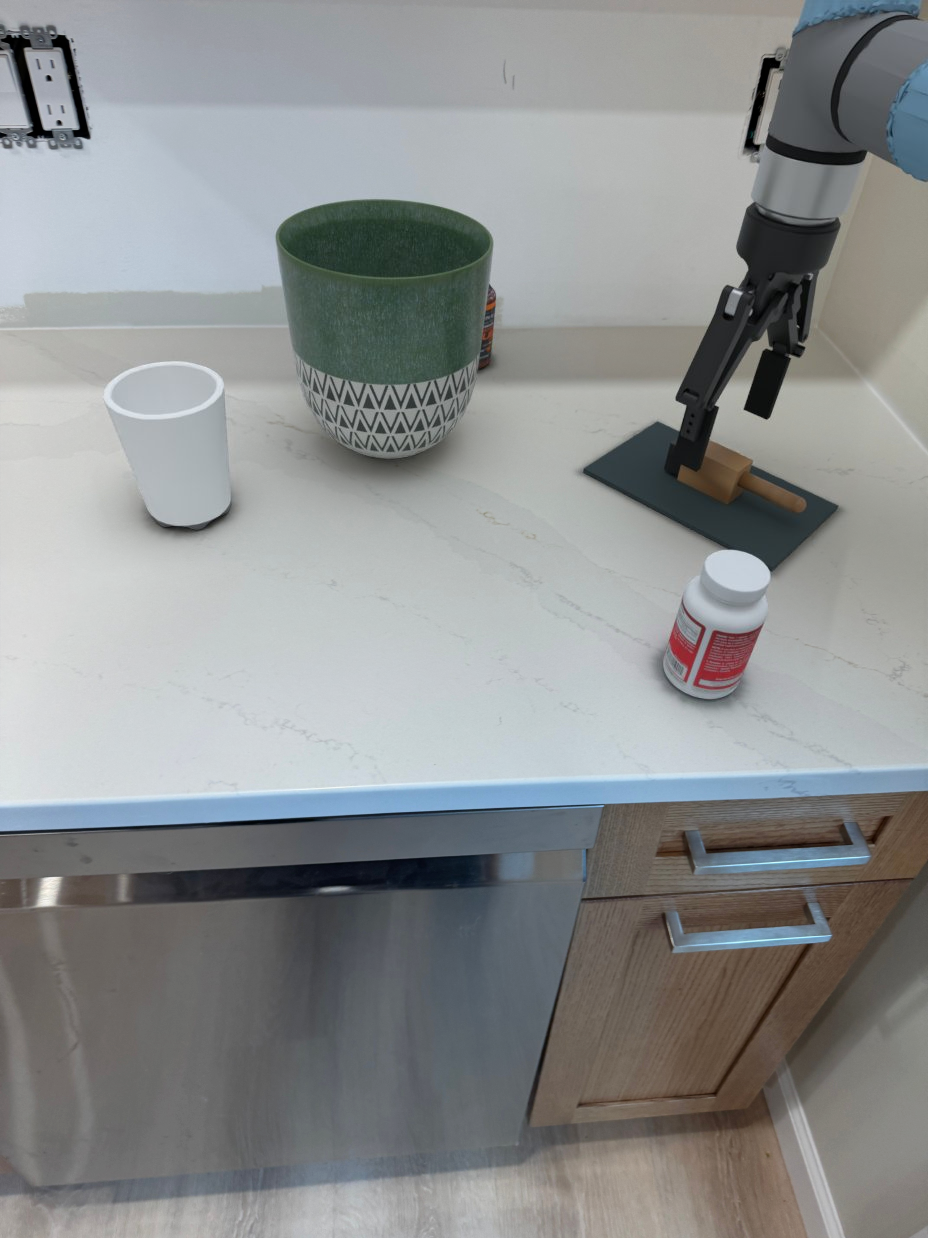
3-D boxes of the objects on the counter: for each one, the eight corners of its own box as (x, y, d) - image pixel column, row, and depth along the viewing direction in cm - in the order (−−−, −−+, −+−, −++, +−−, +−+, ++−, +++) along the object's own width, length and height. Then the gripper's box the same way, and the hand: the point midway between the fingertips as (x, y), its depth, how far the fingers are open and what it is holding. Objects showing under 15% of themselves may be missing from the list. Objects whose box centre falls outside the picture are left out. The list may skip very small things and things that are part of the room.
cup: (147, 551, 74) (111, 427, 65) (128, 491, 80) (94, 370, 71) (256, 526, 77) (237, 405, 68) (230, 470, 83) (209, 352, 74)
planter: (301, 395, 95) (282, 195, 80) (469, 395, 96) (481, 200, 82) (291, 495, 81) (266, 276, 66) (487, 493, 83) (506, 280, 68)
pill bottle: (749, 668, 67) (794, 565, 59) (720, 714, 63) (763, 611, 56) (680, 634, 69) (714, 531, 62) (648, 677, 66) (680, 573, 58)
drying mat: (837, 509, 84) (838, 505, 83) (771, 571, 76) (773, 567, 76) (656, 424, 94) (657, 420, 94) (582, 471, 86) (583, 467, 86)
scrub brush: (803, 522, 81) (817, 489, 78) (789, 536, 79) (803, 502, 76) (677, 461, 88) (686, 428, 85) (662, 472, 86) (670, 439, 83)
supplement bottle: (479, 376, 100) (485, 283, 92) (435, 364, 102) (438, 272, 94) (498, 356, 104) (506, 265, 96) (456, 345, 106) (460, 255, 98)
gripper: (821, 167, 74) (751, 381, 89) (671, 231, 61) (618, 470, 76) (901, 190, 71) (815, 408, 86) (761, 262, 57) (687, 507, 72)
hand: (722, 438), depth 81 cm, fingers open, 13 cm apart
